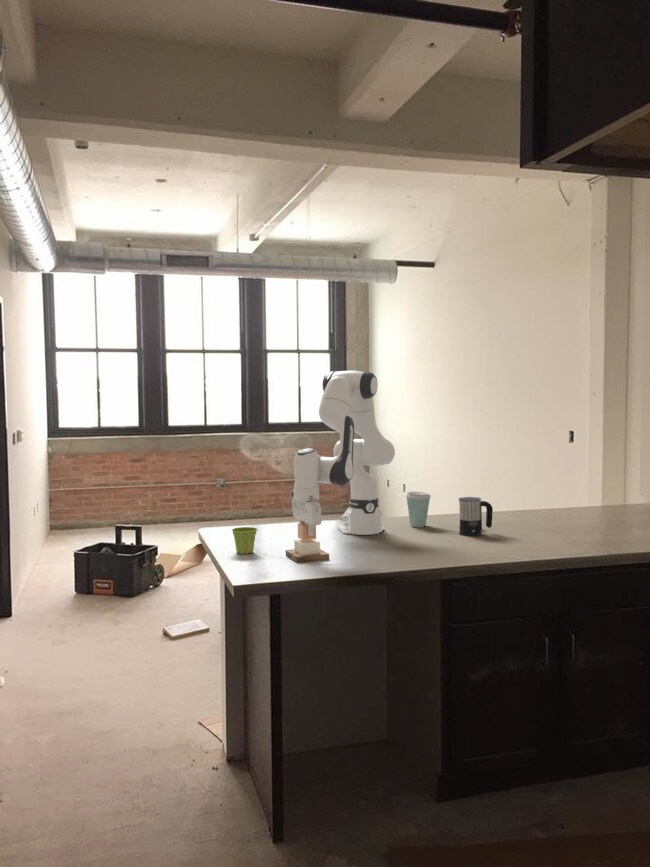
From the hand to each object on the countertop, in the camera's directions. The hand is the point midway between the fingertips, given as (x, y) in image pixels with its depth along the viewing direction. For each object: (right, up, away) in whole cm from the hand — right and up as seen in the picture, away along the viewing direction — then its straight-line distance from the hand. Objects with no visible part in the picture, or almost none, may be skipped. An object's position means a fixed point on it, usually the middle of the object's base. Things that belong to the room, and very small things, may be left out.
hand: (307, 533), depth 248 cm
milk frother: (+67, -6, +43) cm, 80 cm away
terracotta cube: (0, -2, 0) cm, 2 cm away
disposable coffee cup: (+47, -5, +57) cm, 74 cm away
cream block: (0, -7, 0) cm, 7 cm away
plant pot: (-23, -9, +9) cm, 26 cm away
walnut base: (0, -9, 0) cm, 9 cm away
